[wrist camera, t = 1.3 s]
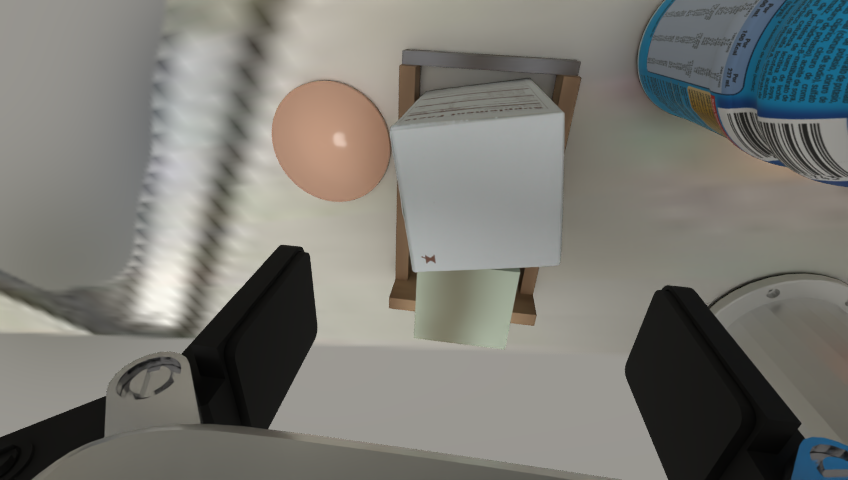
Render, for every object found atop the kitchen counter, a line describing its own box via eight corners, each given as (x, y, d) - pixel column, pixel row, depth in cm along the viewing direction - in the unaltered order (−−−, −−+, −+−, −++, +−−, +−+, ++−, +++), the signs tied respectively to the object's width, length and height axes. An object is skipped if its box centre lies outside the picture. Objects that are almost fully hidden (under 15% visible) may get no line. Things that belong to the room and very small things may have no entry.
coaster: (391, 84, 28) (389, 85, 27) (390, 203, 32) (388, 206, 31) (267, 76, 28) (263, 77, 28) (282, 193, 33) (279, 196, 32)
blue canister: (639, -24, 23) (1133, -181, 6) (807, -51, 22) (2184, -376, 4) (625, 123, 27) (889, 304, 9) (766, 109, 25) (1390, 292, 8)
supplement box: (532, 180, 30) (562, 272, 19) (434, 187, 31) (407, 277, 20) (533, 74, 26) (570, 109, 15) (423, 86, 27) (383, 127, 16)
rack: (575, 59, 25) (617, 74, 18) (527, 287, 34) (541, 365, 26) (406, 49, 26) (374, 59, 19) (400, 272, 35) (377, 344, 27)
